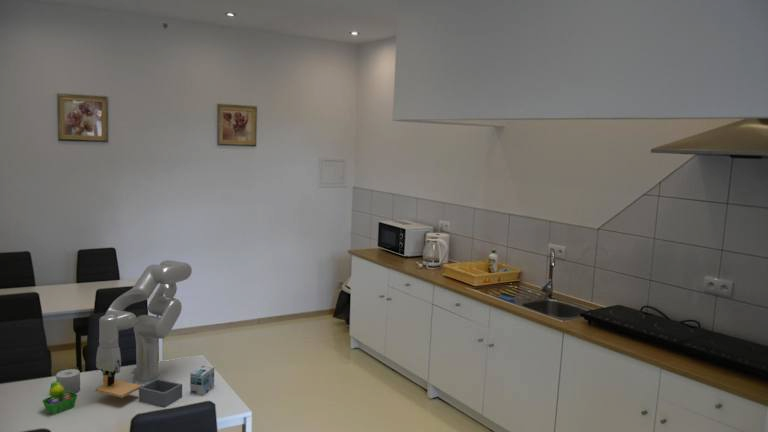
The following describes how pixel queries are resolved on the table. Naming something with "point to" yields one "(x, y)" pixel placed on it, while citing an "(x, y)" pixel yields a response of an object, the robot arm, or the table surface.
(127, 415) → the table surface
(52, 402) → the fruit basket
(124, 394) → the lid
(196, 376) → the light bulb box
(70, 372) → the toilet tissue
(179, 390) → the tub
